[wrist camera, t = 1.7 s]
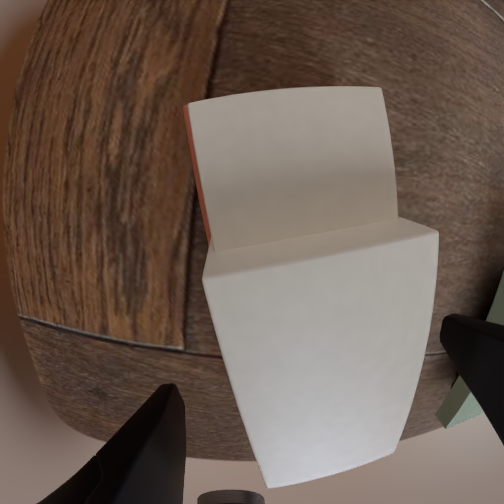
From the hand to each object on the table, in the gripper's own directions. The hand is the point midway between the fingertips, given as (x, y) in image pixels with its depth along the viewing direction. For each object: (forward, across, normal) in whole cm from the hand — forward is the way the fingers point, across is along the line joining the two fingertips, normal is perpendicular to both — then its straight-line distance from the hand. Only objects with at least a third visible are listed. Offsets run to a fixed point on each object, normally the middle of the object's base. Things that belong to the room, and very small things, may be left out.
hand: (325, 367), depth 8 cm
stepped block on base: (+4, 0, -1) cm, 4 cm away
